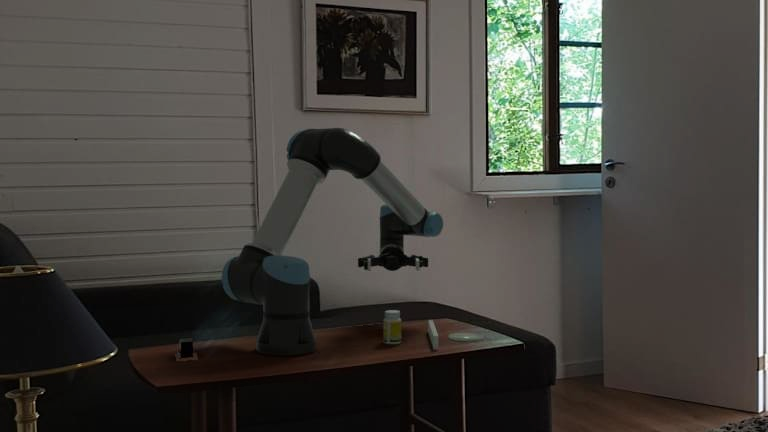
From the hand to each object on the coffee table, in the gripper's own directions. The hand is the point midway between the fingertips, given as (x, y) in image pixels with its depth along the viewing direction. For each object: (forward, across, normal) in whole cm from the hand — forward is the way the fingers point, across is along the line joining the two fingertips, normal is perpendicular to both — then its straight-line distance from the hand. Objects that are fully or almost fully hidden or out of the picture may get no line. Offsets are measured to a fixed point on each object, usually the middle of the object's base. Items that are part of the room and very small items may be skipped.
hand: (393, 266), depth 220 cm
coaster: (+5, -19, -19) cm, 28 cm away
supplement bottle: (+11, +1, -19) cm, 22 cm away
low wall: (+8, -10, -19) cm, 23 cm away
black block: (+28, +51, -19) cm, 61 cm away
